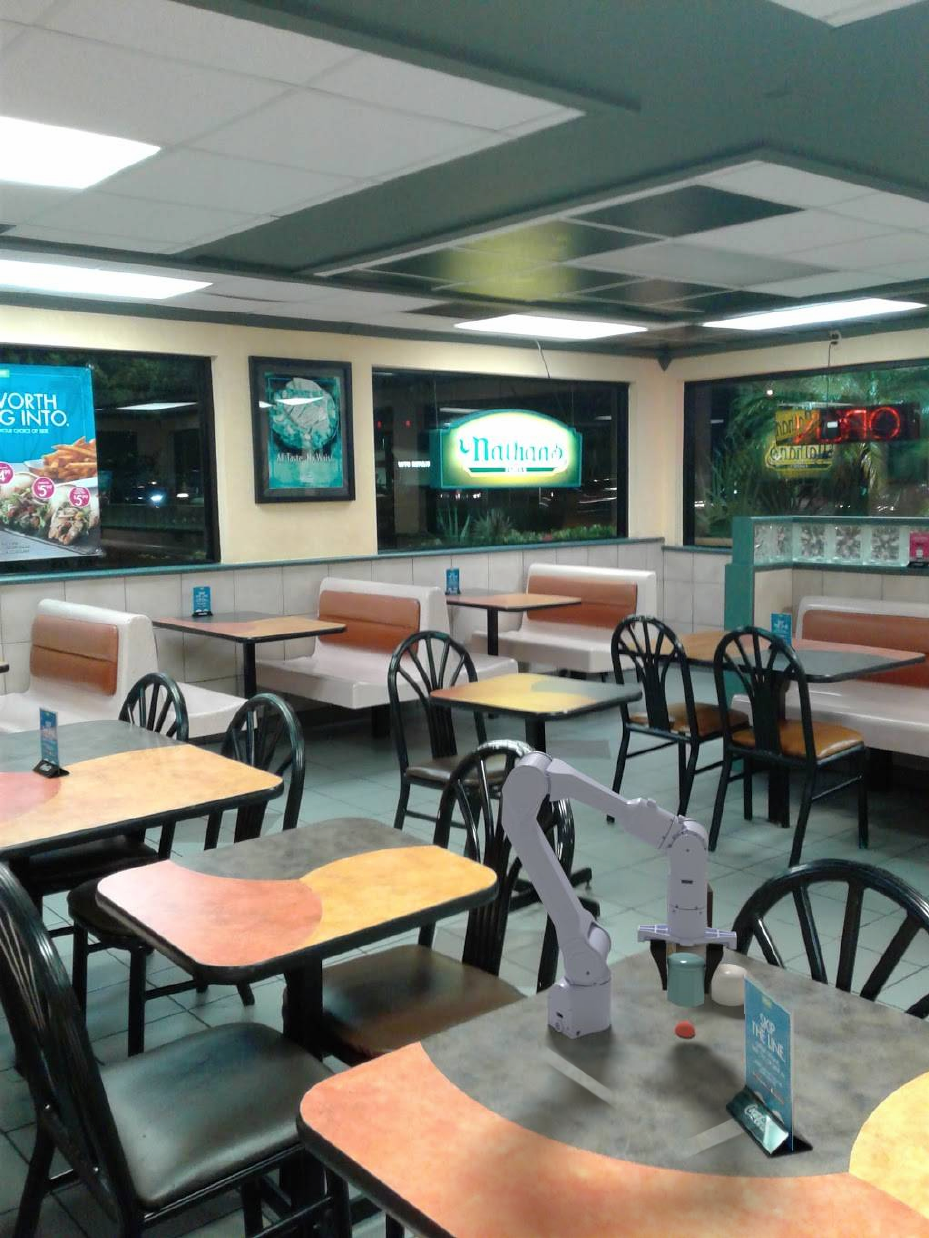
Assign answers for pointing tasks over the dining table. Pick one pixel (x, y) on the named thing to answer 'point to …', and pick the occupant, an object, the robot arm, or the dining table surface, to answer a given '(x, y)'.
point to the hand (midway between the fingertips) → (685, 989)
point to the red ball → (684, 1029)
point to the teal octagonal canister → (685, 979)
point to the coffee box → (695, 949)
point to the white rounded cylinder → (728, 985)
